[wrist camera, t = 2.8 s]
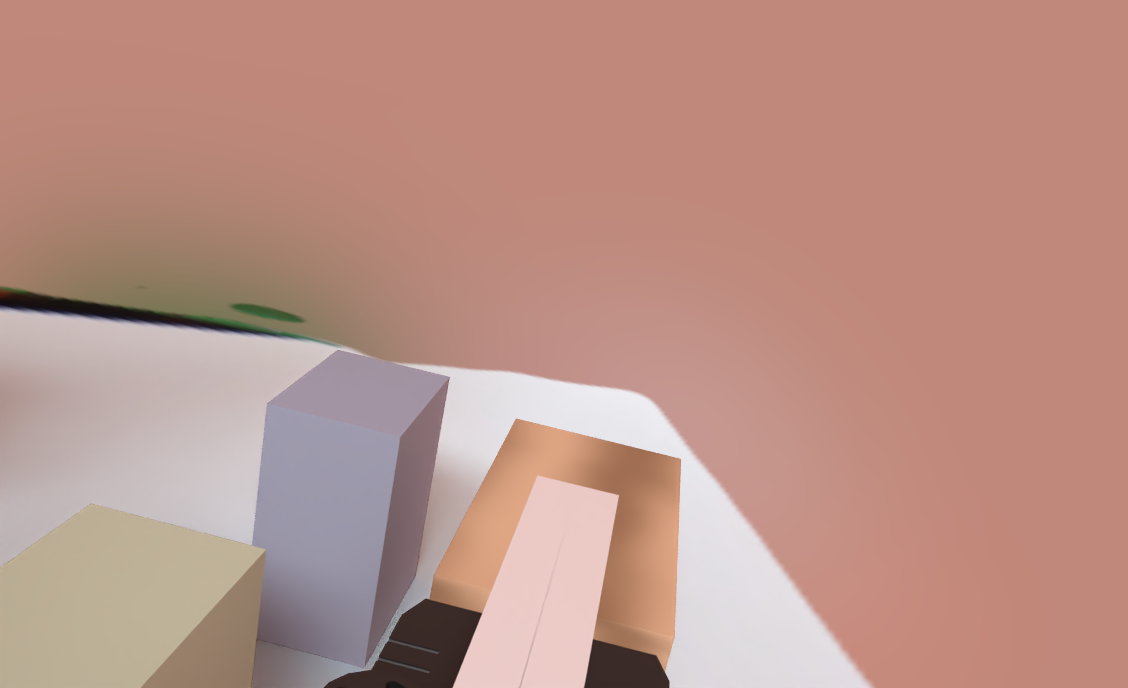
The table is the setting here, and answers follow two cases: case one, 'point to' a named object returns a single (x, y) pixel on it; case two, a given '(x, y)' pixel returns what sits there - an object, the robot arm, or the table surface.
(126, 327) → the table surface
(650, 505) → the oak block
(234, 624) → the beige block
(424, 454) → the lavender block
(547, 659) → the robot arm
